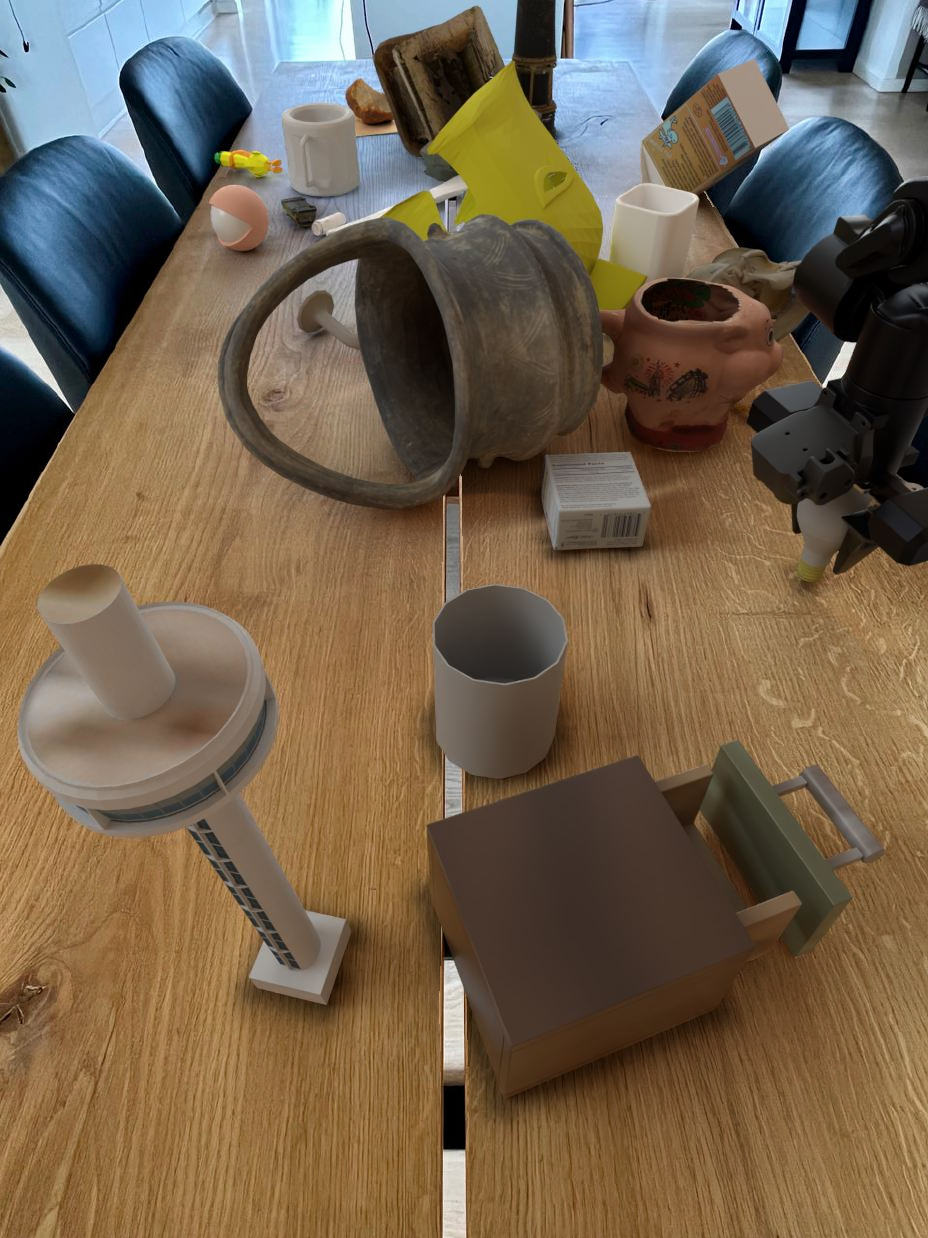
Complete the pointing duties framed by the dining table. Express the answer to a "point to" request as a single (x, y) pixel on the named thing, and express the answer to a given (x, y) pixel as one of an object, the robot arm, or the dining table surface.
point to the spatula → (438, 193)
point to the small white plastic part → (328, 223)
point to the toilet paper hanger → (324, 318)
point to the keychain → (742, 408)
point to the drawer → (771, 846)
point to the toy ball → (238, 217)
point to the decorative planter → (687, 359)
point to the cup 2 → (653, 230)
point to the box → (594, 501)
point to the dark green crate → (300, 210)
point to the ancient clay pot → (441, 349)
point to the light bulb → (825, 531)
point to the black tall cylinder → (536, 56)
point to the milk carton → (713, 132)
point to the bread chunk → (369, 109)
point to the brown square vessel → (435, 74)
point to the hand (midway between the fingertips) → (818, 551)
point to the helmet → (519, 181)
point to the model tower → (171, 750)
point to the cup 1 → (497, 679)
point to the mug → (321, 148)
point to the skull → (759, 284)
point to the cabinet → (580, 921)
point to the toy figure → (248, 162)
